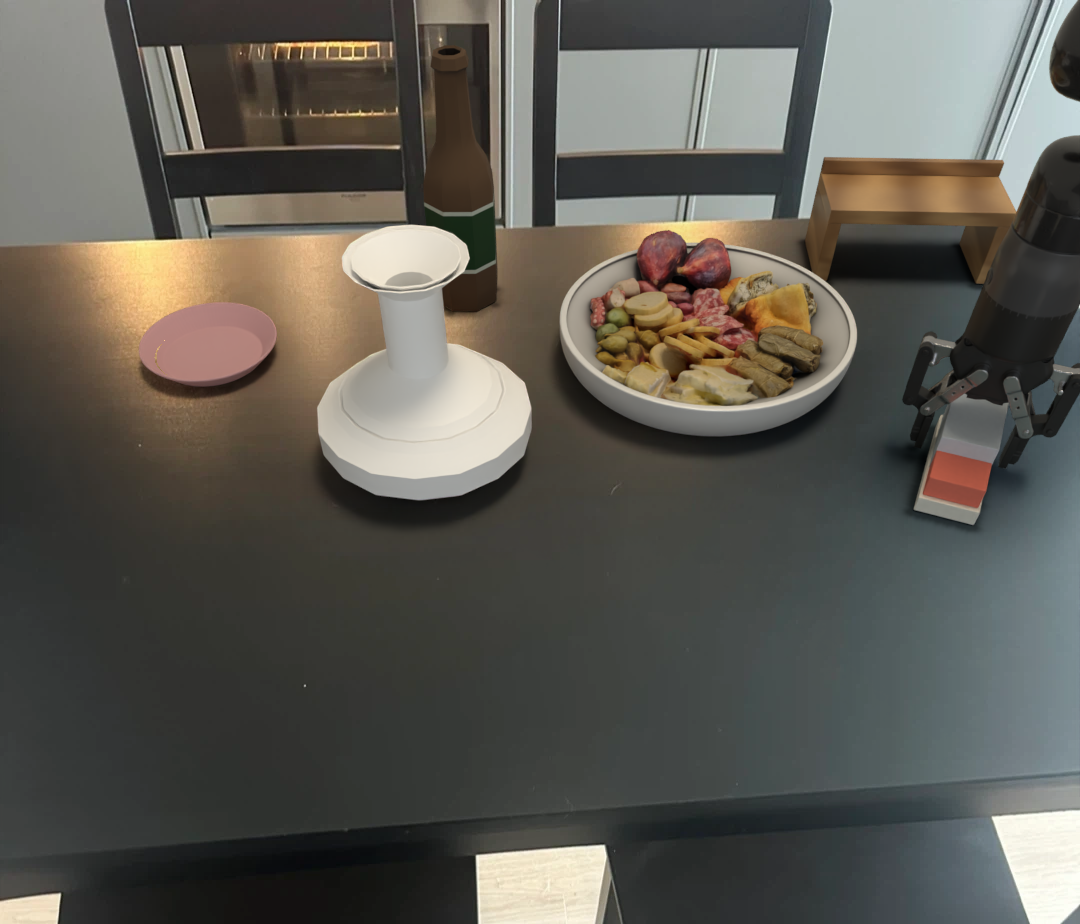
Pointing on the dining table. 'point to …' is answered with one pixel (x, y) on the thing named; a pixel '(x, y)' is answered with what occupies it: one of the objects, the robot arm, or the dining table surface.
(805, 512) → the dining table surface
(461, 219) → the beer bottle
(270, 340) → the plate
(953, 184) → the shoe shelf
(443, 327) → the candle holder
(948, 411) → the stepped block with orange
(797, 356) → the bowl
